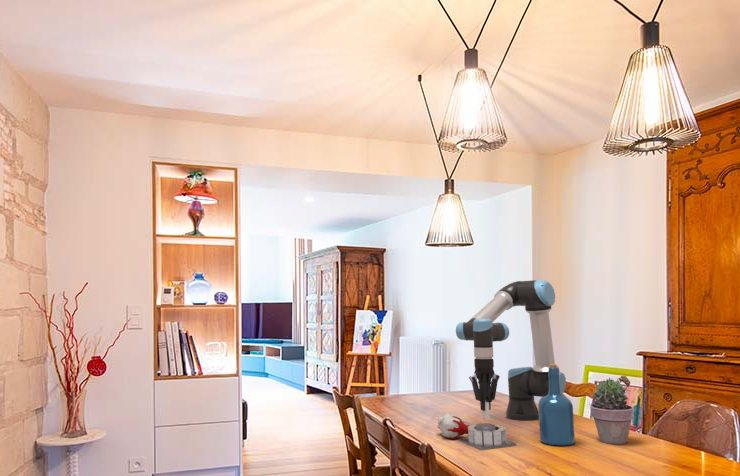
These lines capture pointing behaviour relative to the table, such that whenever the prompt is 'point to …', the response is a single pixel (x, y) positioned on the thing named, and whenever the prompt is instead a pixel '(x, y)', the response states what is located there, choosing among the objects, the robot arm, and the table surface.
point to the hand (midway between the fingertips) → (486, 418)
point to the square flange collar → (487, 438)
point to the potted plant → (612, 411)
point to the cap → (485, 426)
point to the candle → (452, 426)
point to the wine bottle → (556, 414)
